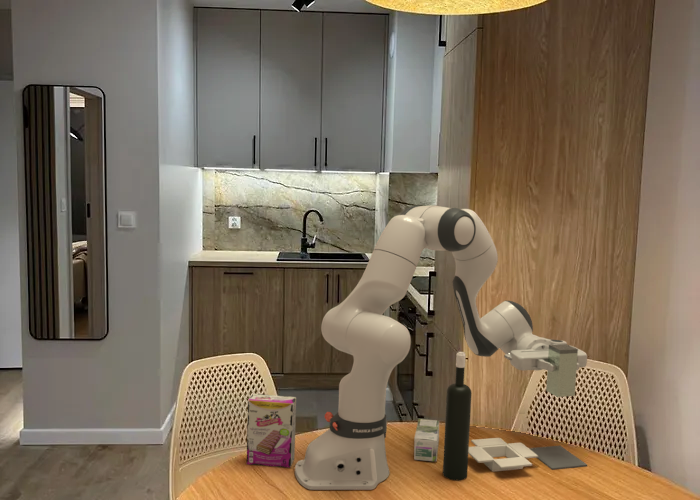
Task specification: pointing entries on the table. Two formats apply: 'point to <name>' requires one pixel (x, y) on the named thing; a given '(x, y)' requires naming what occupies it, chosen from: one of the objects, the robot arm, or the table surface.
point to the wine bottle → (457, 425)
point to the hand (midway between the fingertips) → (565, 367)
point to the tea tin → (562, 370)
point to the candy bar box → (271, 430)
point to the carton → (501, 454)
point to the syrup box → (426, 440)
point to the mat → (557, 457)
